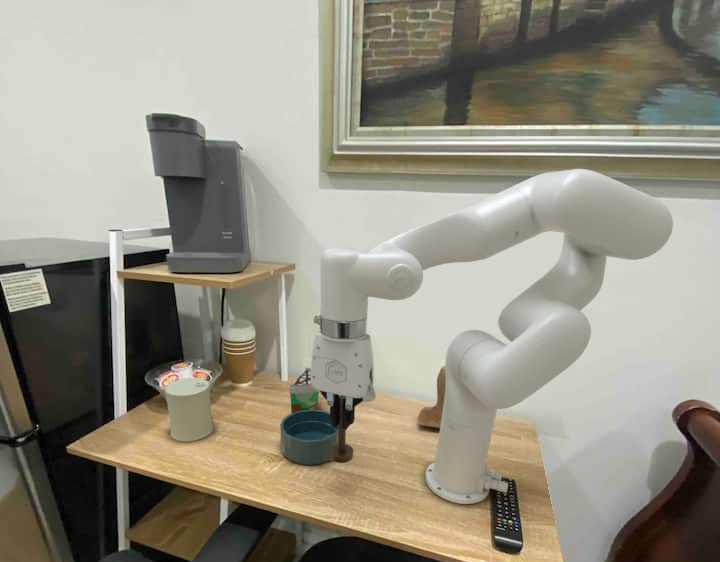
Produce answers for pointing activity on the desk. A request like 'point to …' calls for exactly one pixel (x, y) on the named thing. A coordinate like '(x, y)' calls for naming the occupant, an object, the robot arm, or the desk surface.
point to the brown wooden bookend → (434, 414)
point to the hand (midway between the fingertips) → (342, 424)
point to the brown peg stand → (341, 438)
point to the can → (189, 409)
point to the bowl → (308, 437)
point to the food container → (303, 393)
